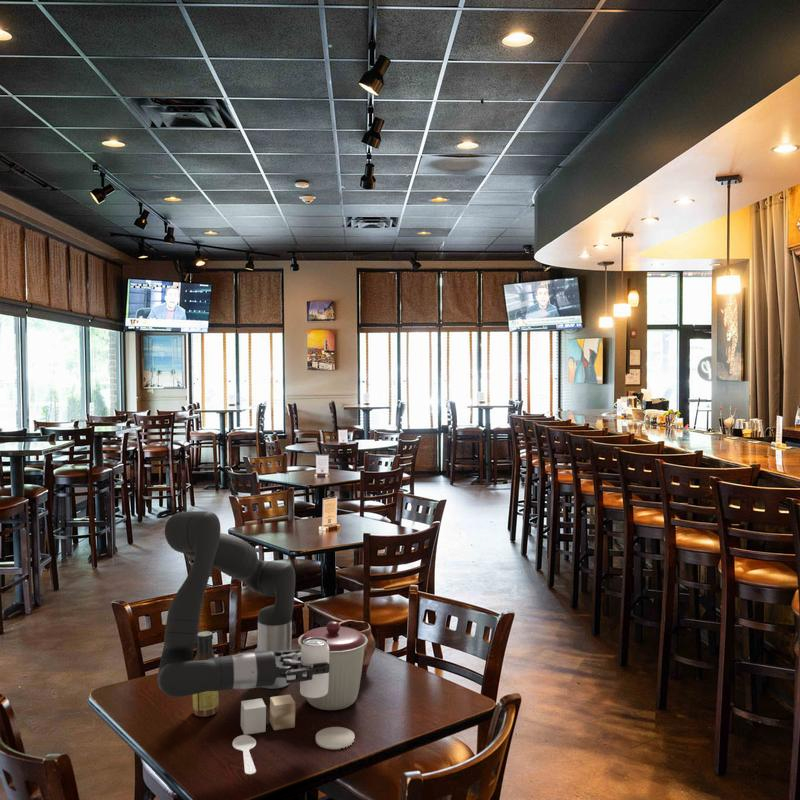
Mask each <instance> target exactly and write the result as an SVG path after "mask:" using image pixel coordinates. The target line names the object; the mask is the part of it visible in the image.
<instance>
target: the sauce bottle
mask: <svg viewBox="0 0 800 800" xmlns="http://www.w3.org/2000/svg"><path fill="white" fill-rule="evenodd" d="M213 639H214V633H213V632H212V631H207V630H206V631H198V637H197V642H196V654H195V656H194V657H193V659H192V661H197V660H207V659H210V658H214V657H216V656H215V653H214V650H213V649H214V648H213ZM192 708H193V715H195V716H197V717H199V718H207V717H211V716H213V715H214V716H215V715H216V713H218V710H219V691H206V692H202V693H197V694H192Z"/></svg>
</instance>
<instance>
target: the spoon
mask: <svg viewBox="0 0 800 800" xmlns="http://www.w3.org/2000/svg"><path fill="white" fill-rule="evenodd" d="M231 744H232V747H233V748H234V749H235V750H237V751H241V752H242V757H243V765H244V766H243V768H244V773H245V774H246V775H249V776H250V775H254V774H255V773H257V769H256V766H255V764H254V761H253V757H252V755H251V753H250V752H251V751H250V750H252V749H254V748H255V747H256V745H257V740H256V739H255V738H254V737H252V736H251V735H249V734H247V735H244V734H242V735H239V736H237V737H235V738H234V739H233V741H232V743H231Z"/></svg>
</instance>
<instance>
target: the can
mask: <svg viewBox="0 0 800 800" xmlns="http://www.w3.org/2000/svg"><path fill="white" fill-rule="evenodd" d="M327 642H328V641H327V640H326V639H324V638H320V637H312V638H307V639H305V640H304V641H303V645H302V647H301V646H300V652H301V661H303V662H304V663H306V664H315V663H324V662H328V663H329V646H328V644H327ZM303 668H304V667H303ZM302 677H305V676H302ZM328 679H329V672H328V673H323V674H314V675H313V676H312V680H307V681H301V682H299V694H301V696H302V697H304V698H306V699H307V698H312V699H315V698H321V697H324V696H325V695H326V694H327V693H328Z"/></svg>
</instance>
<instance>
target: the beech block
mask: <svg viewBox="0 0 800 800" xmlns="http://www.w3.org/2000/svg"><path fill="white" fill-rule="evenodd" d="M269 701H270V702H269V723H270V725H271V727H272V730H273V731H278V730H284V729H285V730H286V729H291V728H295V726H296V702H295V699H294V698H293V696H292V695H291V694H284V695H277V696H276V695H275V696H271V697H269Z"/></svg>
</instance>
